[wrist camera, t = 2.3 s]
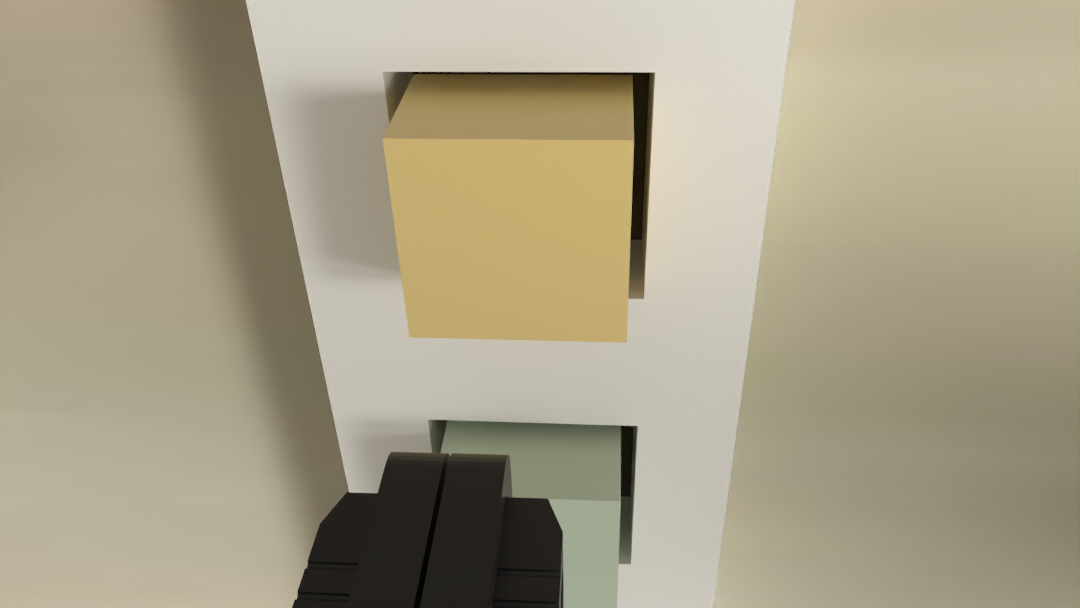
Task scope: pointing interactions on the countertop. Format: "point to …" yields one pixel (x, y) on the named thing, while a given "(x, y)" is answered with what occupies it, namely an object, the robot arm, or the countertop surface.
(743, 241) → the button panel
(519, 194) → the ochre button
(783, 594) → the countertop surface
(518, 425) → the sage button
